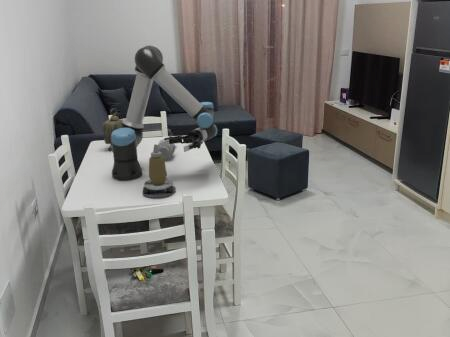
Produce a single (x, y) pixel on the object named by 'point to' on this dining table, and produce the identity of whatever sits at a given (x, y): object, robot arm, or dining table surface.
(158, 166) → the squeeze bottle
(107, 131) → the olive green container
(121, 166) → the robot arm
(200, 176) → the dining table surface
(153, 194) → the base
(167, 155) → the device
